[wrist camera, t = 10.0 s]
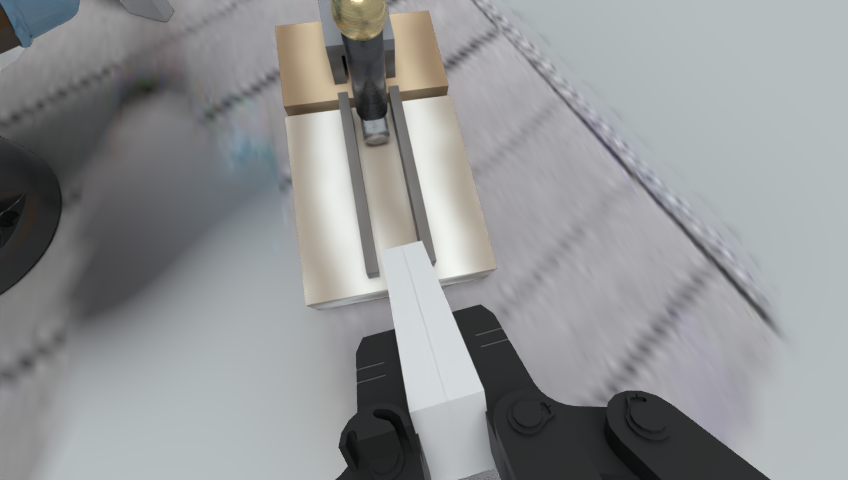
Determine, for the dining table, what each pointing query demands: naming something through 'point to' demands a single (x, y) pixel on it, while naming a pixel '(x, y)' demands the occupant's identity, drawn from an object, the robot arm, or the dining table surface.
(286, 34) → the door and jamb
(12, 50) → the teardrop
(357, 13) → the bolt
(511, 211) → the dining table surface
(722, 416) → the dining table surface
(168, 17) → the lighter
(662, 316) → the dining table surface
